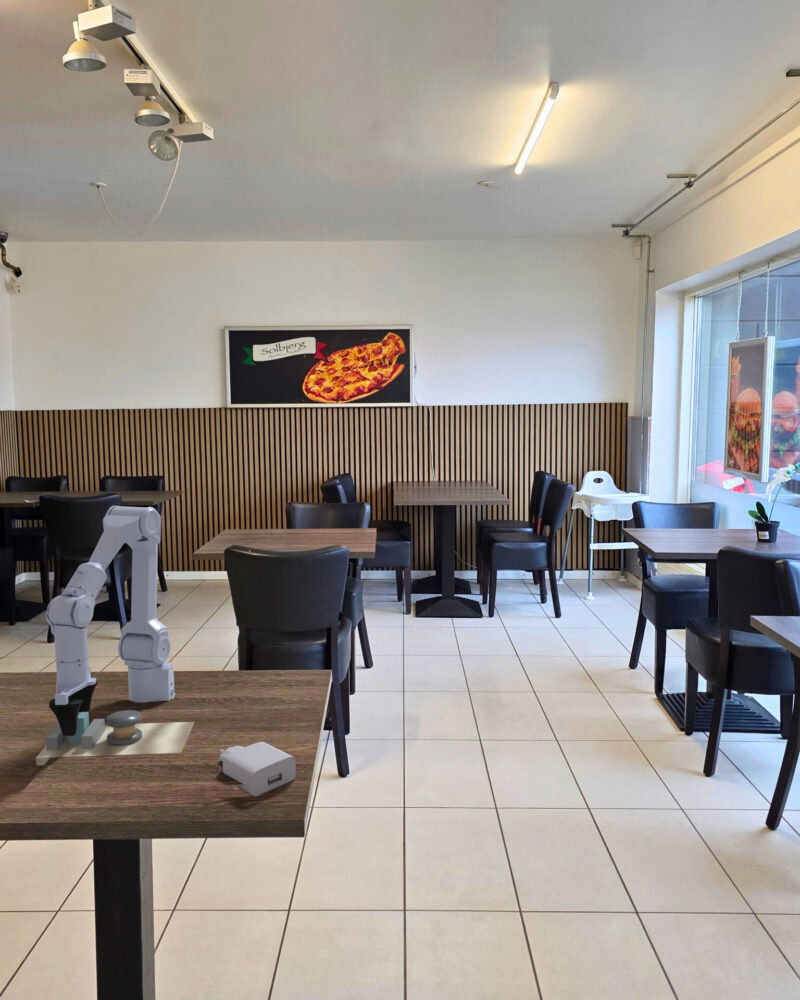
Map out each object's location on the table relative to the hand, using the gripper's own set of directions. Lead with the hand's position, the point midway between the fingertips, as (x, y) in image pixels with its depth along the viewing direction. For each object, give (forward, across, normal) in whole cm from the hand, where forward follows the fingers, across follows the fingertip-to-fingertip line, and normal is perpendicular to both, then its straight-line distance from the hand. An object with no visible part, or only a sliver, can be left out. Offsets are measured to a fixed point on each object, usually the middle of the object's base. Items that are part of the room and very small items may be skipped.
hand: (76, 726), depth 149 cm
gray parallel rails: (+3, 0, 0) cm, 3 cm away
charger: (+5, -13, -34) cm, 37 cm away
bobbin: (+3, 0, -9) cm, 9 cm away
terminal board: (+4, 0, -8) cm, 9 cm away
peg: (+3, 0, 0) cm, 3 cm away
